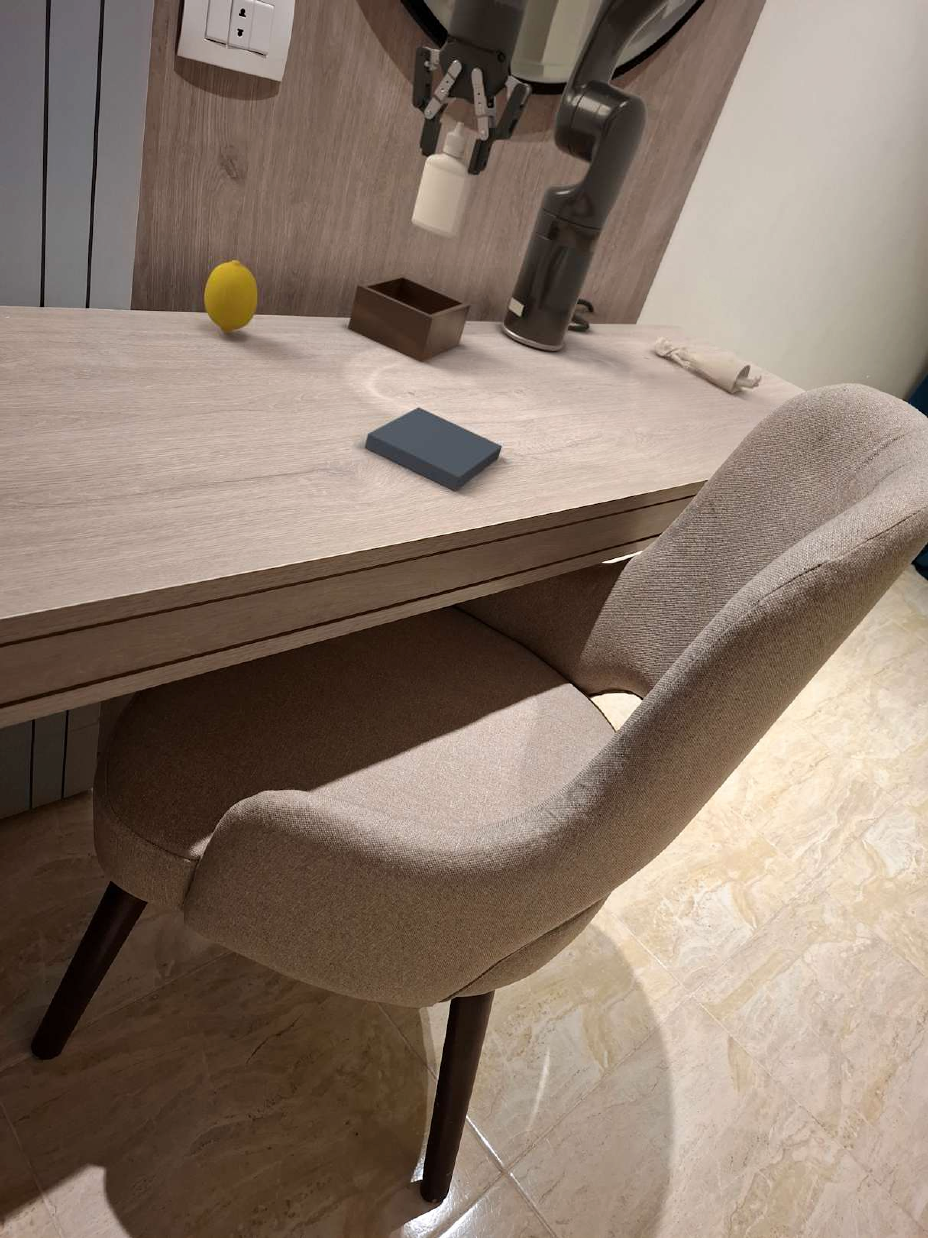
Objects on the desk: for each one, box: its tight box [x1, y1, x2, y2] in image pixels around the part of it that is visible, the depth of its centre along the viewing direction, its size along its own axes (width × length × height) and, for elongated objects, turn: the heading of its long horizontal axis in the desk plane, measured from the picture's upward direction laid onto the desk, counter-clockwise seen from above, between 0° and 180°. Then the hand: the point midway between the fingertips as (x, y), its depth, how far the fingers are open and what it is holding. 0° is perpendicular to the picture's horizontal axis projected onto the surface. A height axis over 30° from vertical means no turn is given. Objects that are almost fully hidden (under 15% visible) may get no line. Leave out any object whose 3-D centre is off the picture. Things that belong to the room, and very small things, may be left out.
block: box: [364, 406, 503, 492], centre depth 90 cm, size 11×10×2 cm
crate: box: [347, 274, 471, 362], centre depth 115 cm, size 12×11×6 cm
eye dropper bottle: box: [411, 121, 473, 239], centre depth 106 cm, size 4×6×12 cm
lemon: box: [203, 259, 259, 334], centre depth 98 cm, size 6×6×8 cm
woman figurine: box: [653, 336, 762, 394], centre depth 143 cm, size 12×4×18 cm
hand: (450, 164), depth 105 cm, fingers closed on eye dropper bottle, 5 cm apart
